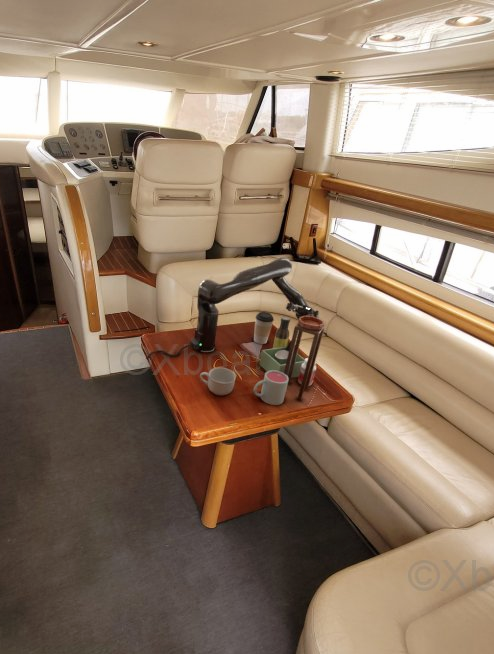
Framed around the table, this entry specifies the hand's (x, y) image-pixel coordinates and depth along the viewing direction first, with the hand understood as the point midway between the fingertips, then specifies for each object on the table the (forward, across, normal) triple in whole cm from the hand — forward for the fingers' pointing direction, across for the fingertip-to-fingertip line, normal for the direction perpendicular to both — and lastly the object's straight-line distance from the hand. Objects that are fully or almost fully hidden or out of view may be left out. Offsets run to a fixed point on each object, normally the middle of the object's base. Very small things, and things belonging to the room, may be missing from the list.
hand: (300, 307), depth 168 cm
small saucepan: (-10, 0, +23) cm, 25 cm away
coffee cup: (-24, -18, +18) cm, 35 cm away
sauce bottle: (-15, -5, +23) cm, 28 cm away
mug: (+17, +3, +42) cm, 45 cm away
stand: (+6, +10, +35) cm, 37 cm away
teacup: (+23, -16, +45) cm, 53 cm away
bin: (-5, 0, +29) cm, 29 cm away
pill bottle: (-2, +12, +31) cm, 33 cm away
